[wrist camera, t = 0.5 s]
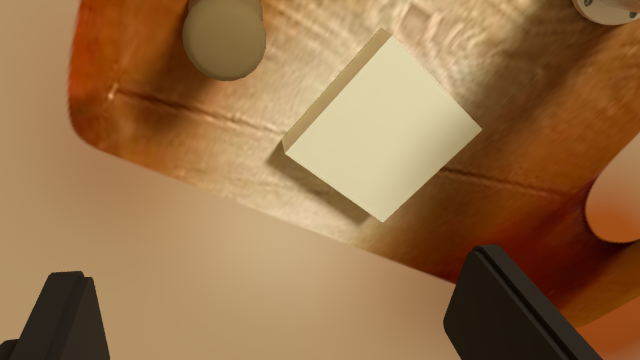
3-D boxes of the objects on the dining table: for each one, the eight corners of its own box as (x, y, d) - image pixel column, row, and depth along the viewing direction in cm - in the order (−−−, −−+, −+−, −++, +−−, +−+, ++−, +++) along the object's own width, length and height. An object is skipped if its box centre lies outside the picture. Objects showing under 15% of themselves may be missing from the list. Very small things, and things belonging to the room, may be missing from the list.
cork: (275, -3, 34) (292, 24, 25) (244, 62, 37) (249, 109, 27) (205, -43, 32) (195, -31, 23) (176, 29, 34) (157, 67, 25)
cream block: (381, 27, 37) (392, 34, 35) (467, 117, 44) (482, 129, 41) (281, 139, 41) (284, 153, 39) (374, 207, 48) (382, 222, 45)
